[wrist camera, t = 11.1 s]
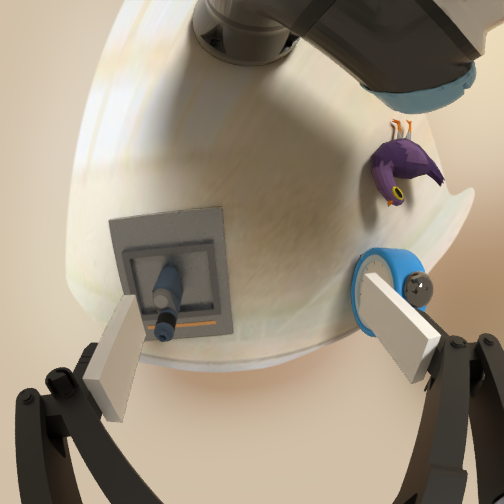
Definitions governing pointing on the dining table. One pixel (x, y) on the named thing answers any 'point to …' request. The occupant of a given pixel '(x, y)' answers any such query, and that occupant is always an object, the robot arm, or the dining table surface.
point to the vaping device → (167, 302)
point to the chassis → (177, 267)
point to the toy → (400, 165)
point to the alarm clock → (392, 279)
